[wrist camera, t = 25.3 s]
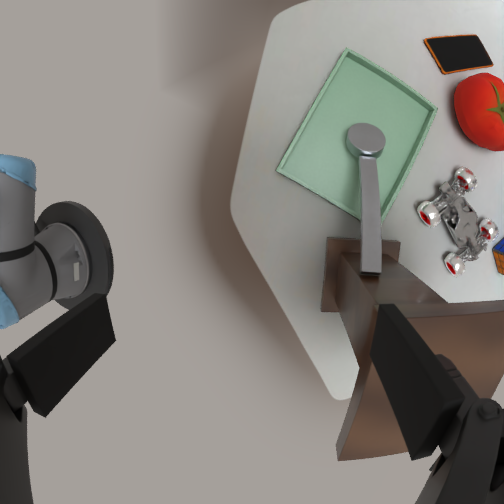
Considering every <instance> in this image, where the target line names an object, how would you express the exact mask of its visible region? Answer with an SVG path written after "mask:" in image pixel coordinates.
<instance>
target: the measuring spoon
mask: <svg viewBox="0 0 504 504" xmlns="http://www.w3.org/2000/svg"><path fill="white" fill-rule="evenodd" d="M385 144H386V139H385V136H384V134H383V132H382V131H381V130H380V129H379V128H377V127H376V126H374V125H371V124H368V123H357V124H354V125H352V126H351V127H350V128H349V130H348V134H347V140H346V145H347V148H348V149H349V151H350V152H351V153H352V154H353V155H354V156H356V157H358V158H359V160H358V164H359V181H360V210H361V251H360V274H368V275H380V274H381V270H382V240H381V211H380V195H379V182H378V171H377V161H376V159H377V158H379V157H380V156H381V155H382V153H383V150H384V147H385Z"/></svg>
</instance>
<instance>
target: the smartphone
mask: <svg viewBox="0 0 504 504" xmlns="http://www.w3.org/2000/svg"><path fill="white" fill-rule="evenodd" d="M424 42H425V43H426V45H427V47H428V48H429V50H430V52H431V53H432V55H433V57H434V59H435V60H436V62H437V64H438V66H439V67H440V69H441V71H442V73H444V74H449V73H454V72H459V71H465V70H471V69H477V68H484V67H492V66H493V63H492V61H491V59H490V57H489V55H488V53H487V51H486V50H485V48H484V46H483V44H482V43H481V41H480V39H479V38H478V36H477V35H456V36H443V37H442V36H440V37H432V38H426V39H425V40H424Z"/></svg>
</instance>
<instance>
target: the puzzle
mask: <svg viewBox="0 0 504 504" xmlns="http://www.w3.org/2000/svg"><path fill="white" fill-rule="evenodd" d="M492 250H493V254H494V257H495V261H496V264H497V269H498V272H499V273H501V274H502V275H504V238H503V239H502V240H501V241H500V242H499V243H498V244H497V245H496V246H495V247H494V248H493V249H492Z"/></svg>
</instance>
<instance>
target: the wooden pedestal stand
mask: <svg viewBox="0 0 504 504" xmlns="http://www.w3.org/2000/svg"><path fill="white" fill-rule="evenodd" d="M399 250H400V242H399V241H394V240H382V270H381V274H380V275H368V274H360V251H361V239H356V238H334V237H327V245H326V258H325V270H324V281H323V292H322V301H321V312H339V313H340V315H341V318H342V320H343V323H344V326H345V328H346V331H347V334H348V337H349V339H350V342H351V345H352V348H353V350H354V353H355V356H356V359H357V362H358V365H359V367H360V368H359V372H358V376H357V380H356V383H355V387H354V391H353V394H352V397H351V401H350V404H349V407H348V411H347V414H346V417H345V420H344V423H343V426H342V429H341V432H340V434H339V437H338V440H337V443H336V451H337V459H338V461H345V460H356V459H365V458H373V457H381V456H387V455H393V454H398V453H404V452H408V449H407V446H406V443H405V441H404V438H403V435H402V433H401V430H400V427H399V425H398V422H397V420H396V417H395V415H394V412H393V410H392V407H391V405H390V402H389V400H388V397H387V395H386V392H385V390H384V388H383V385H382V383H381V381H380V378H379V376H378V374H377V371H376V369H375V367H374V364H373V362H372V360H371V358H370V355H369V353H370V349H371V344H372V340H373V335H374V330H375V325H376V319H377V314H378V308H379V304H393V303H394V304H395V305H396V306H397V308H398V309H399V310H400V311H401V312H402V314H403V315H404V316H405V317H406V318H407V320H408V321H409V322H410V323H411V325H412V326H413V327H414V328H415V330H416V331H417V332H418V333H419V335H420V336H421V337H422V339H423V340H424V341H425V342H426V344H427V345H428V346H429V348H430V349H431V350H432V352H433V353H434V354H435V355H436V354H442V355H444V356H445V357H447V358H448V359H450V360H451V361H452V362H453V363H454V365H455V366H456V367H457V370H459V371H460V372H461V374H462V376H464V378H465V379H466V380H467V382H468V383H469V384H470V386H471V387H472V388H473V390H474V391H475V393H476V394H477V395H478V397H479V398H489V399H491V397H492V396H493V394H494V392H495V390H496V388H497V386H498V384H499V382H500V380H501V378H502V376H503V374H504V300H496V301H481V302H465V303H448V302H446V301H445V300H444V299H443V298H442V297H441V296H439V295H438V294H437V293H436V292H435V291H433V290H432V289H431V288H430V287H429V286H427V285H426V284H425V283H424V282H423V281H421V280H420V279H419V278H418V277H416V276H415V275H414V274H413V273H411V272H410V271H409V270H408V269H406V268H405V267H404V266H402V265H401V264H400V263H399V262H398V258H399Z"/></svg>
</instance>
